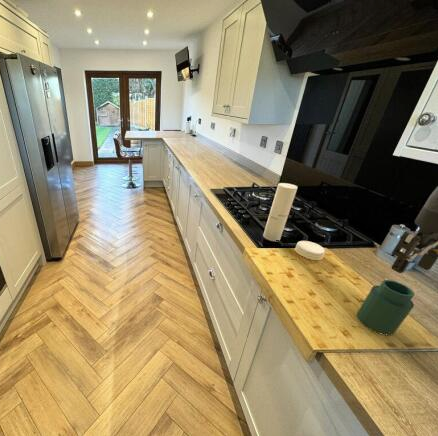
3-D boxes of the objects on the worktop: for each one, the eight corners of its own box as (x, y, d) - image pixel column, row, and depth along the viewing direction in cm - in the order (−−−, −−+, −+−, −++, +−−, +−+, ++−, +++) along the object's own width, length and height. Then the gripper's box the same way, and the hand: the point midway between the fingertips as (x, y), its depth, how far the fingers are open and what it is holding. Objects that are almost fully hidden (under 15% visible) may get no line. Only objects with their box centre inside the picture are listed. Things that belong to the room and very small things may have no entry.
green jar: (384, 315, 69) (407, 281, 63) (401, 339, 62) (429, 303, 56) (351, 308, 71) (371, 274, 66) (364, 329, 64) (387, 294, 59)
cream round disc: (328, 261, 93) (331, 254, 91) (303, 260, 93) (306, 253, 91) (312, 247, 102) (315, 240, 100) (290, 246, 102) (292, 239, 100)
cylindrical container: (281, 242, 105) (299, 189, 94) (263, 239, 107) (279, 186, 96) (278, 235, 111) (295, 184, 100) (262, 232, 113) (277, 182, 102)
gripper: (447, 219, 47) (405, 282, 54) (497, 215, 49) (451, 276, 56) (404, 204, 53) (371, 262, 60) (450, 202, 56) (413, 258, 63)
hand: (410, 269), depth 58 cm, fingers open, 8 cm apart
